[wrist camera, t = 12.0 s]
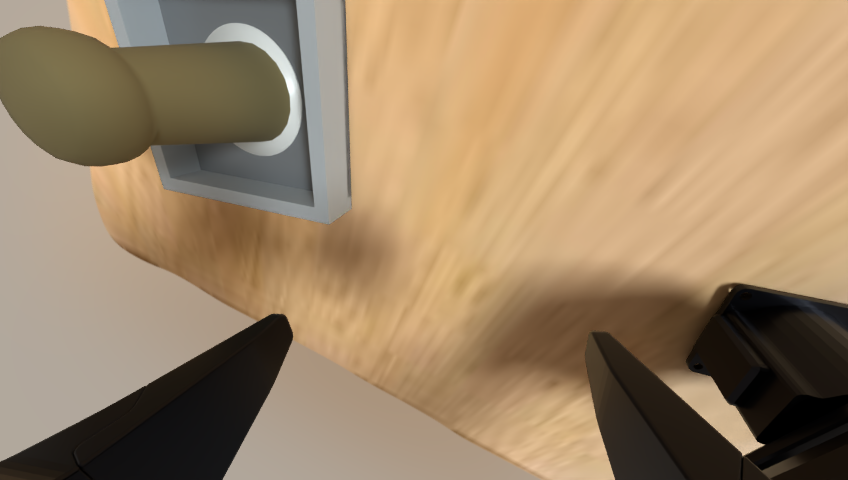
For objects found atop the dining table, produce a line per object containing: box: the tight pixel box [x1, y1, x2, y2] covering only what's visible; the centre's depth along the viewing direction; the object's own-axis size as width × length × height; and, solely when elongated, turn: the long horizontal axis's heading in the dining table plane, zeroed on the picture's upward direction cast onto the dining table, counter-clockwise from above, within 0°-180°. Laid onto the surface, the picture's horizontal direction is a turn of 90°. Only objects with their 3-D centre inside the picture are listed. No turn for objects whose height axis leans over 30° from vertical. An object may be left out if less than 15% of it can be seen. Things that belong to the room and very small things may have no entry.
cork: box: [0, 26, 290, 166], centre depth 16 cm, size 6×6×11 cm
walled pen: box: [105, 0, 352, 224], centre depth 20 cm, size 14×14×3 cm
